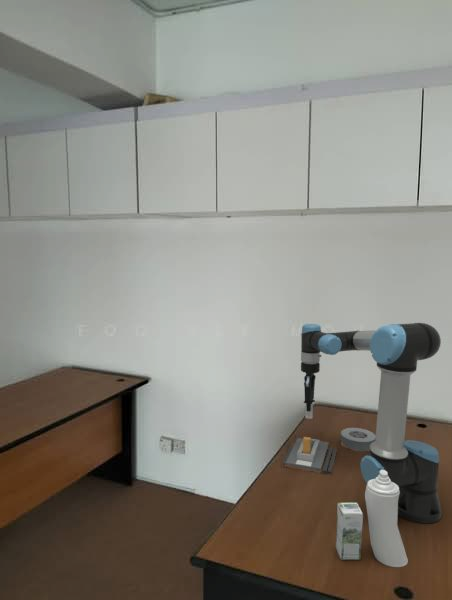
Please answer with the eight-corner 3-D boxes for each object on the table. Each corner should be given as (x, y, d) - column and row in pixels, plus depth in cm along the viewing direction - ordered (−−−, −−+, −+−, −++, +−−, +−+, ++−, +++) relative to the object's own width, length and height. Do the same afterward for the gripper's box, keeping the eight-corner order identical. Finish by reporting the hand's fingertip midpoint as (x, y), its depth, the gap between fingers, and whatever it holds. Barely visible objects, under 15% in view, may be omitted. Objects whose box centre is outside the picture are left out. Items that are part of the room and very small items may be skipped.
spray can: (378, 571, 126) (382, 485, 123) (356, 547, 136) (360, 466, 133) (414, 564, 129) (419, 479, 126) (390, 541, 139) (394, 462, 136)
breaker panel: (331, 475, 179) (331, 464, 179) (281, 466, 186) (281, 456, 185) (337, 448, 204) (338, 438, 203) (294, 441, 210) (294, 432, 210)
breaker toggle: (309, 459, 188) (309, 440, 187) (302, 457, 189) (302, 439, 188) (310, 455, 191) (311, 437, 190) (303, 454, 192) (304, 436, 191)
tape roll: (382, 449, 203) (383, 438, 203) (354, 454, 198) (354, 443, 197) (360, 436, 218) (361, 425, 217) (333, 440, 212) (333, 430, 211)
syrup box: (354, 547, 136) (356, 501, 134) (361, 561, 130) (363, 512, 128) (335, 547, 136) (337, 501, 134) (341, 561, 130) (342, 512, 128)
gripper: (317, 366, 180) (315, 424, 183) (322, 359, 193) (320, 413, 195) (298, 364, 183) (296, 422, 186) (304, 357, 195) (302, 411, 198)
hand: (308, 417), depth 190 cm, fingers closed
